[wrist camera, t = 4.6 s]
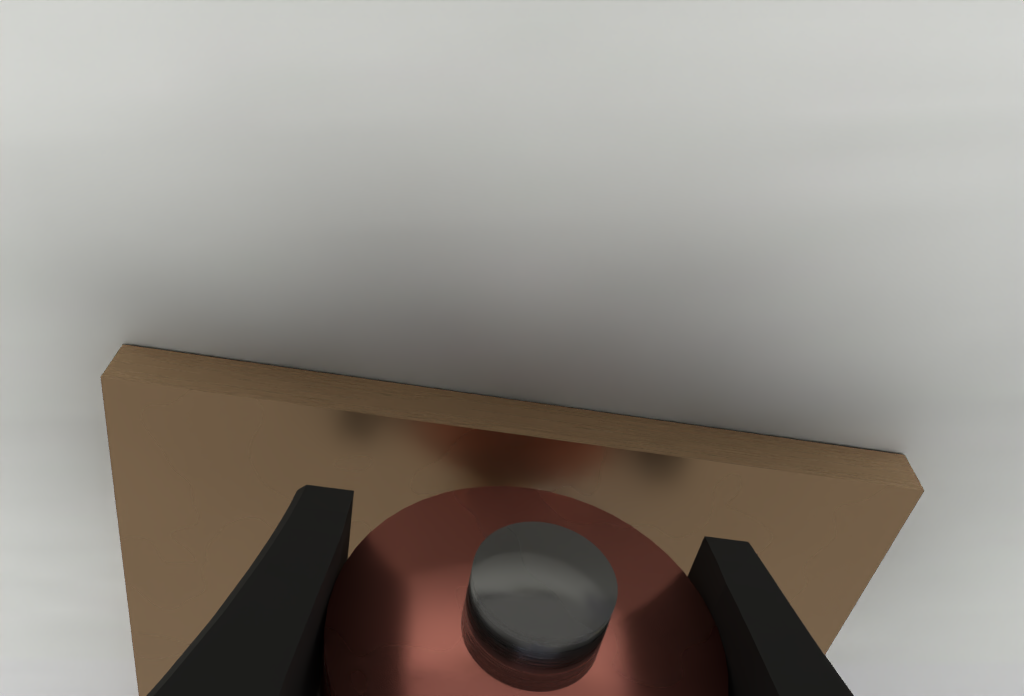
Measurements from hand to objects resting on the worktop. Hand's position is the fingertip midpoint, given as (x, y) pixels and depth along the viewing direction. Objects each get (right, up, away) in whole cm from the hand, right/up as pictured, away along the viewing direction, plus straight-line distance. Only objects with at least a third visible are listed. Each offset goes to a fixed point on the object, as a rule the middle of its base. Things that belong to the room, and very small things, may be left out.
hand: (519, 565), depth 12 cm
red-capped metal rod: (-1, -3, +3) cm, 5 cm away
